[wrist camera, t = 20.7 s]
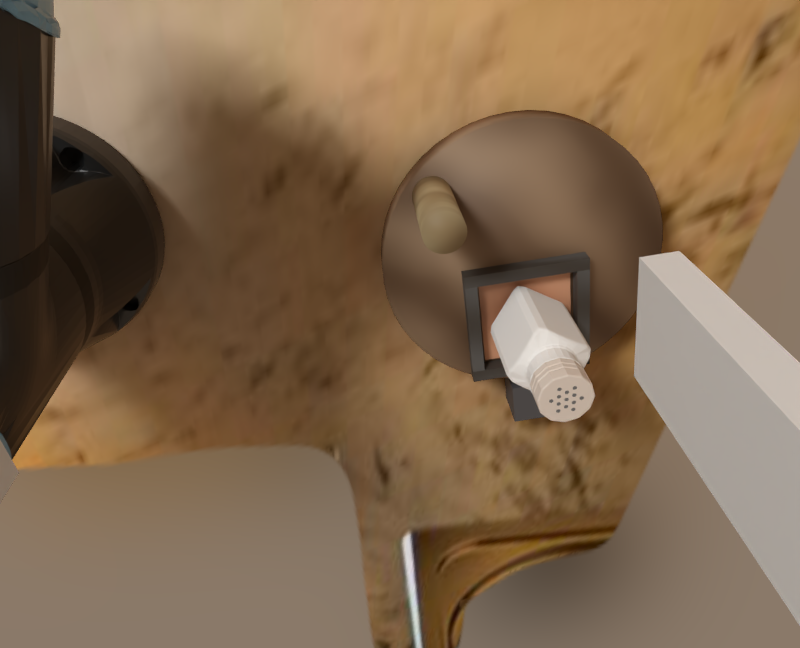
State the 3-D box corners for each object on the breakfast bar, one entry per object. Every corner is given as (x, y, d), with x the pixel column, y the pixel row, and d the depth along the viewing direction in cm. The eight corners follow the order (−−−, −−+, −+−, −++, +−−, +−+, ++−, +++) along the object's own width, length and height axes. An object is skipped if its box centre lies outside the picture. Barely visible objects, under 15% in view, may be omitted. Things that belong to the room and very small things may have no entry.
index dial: (524, 401, 51) (552, 473, 44) (327, 278, 45) (324, 340, 38) (705, 219, 45) (772, 270, 38) (504, 45, 38) (540, 68, 31)
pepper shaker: (535, 348, 46) (576, 437, 38) (485, 328, 45) (516, 415, 37) (566, 301, 45) (617, 383, 36) (515, 279, 43) (555, 358, 35)
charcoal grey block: (506, 397, 52) (514, 421, 50) (503, 365, 51) (512, 388, 48) (537, 392, 52) (546, 416, 50) (535, 360, 51) (545, 383, 48)
